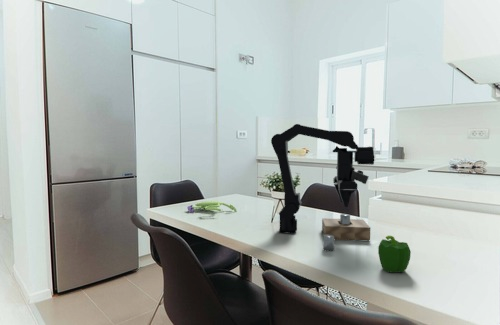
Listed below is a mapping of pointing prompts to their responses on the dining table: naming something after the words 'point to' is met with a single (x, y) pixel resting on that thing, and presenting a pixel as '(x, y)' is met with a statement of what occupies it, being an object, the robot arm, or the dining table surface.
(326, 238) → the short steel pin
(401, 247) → the bell pepper
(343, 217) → the tall steel pin
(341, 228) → the walnut hole block
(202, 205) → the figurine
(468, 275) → the dining table surface
